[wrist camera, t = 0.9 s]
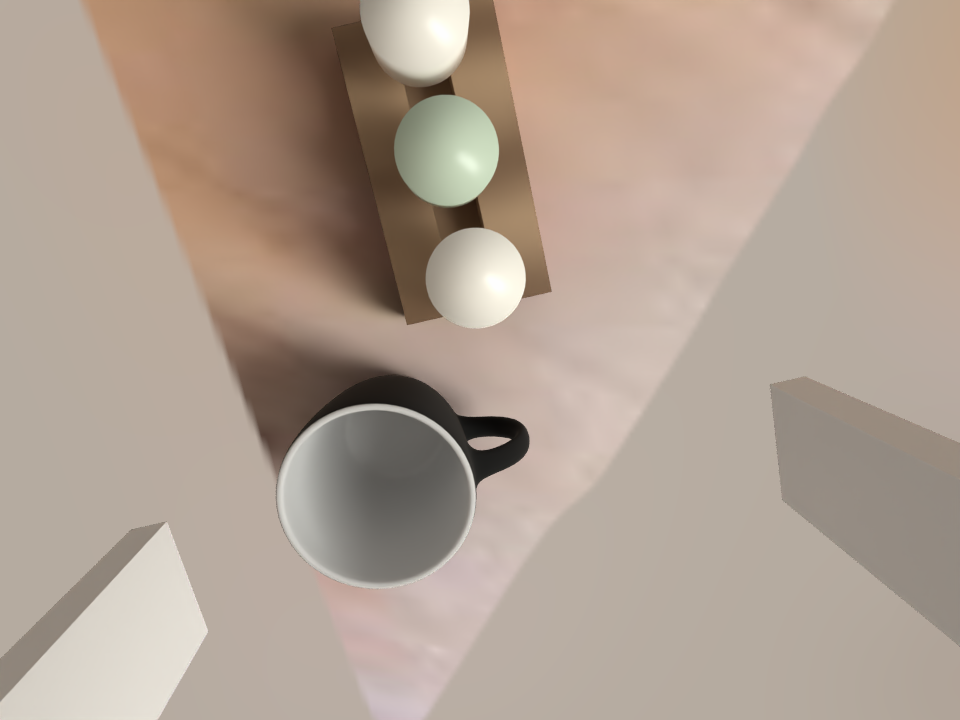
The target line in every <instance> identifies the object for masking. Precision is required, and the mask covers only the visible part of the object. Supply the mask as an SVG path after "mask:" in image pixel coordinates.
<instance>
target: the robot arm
mask: <svg viewBox="0 0 960 720" xmlns="http://www.w3.org/2000/svg"><path fill="white" fill-rule="evenodd" d="M770 389H771V399H772V408H773V418H774V427H775V436H776V446H777V454H778V465H779V474H780V484H781V493H782V500H783V501H784V502H785V503H787V504H788V505H789V506H790V507H791V508H792V509H794V510H795V511H796V512H797V513H798V514H800V515H801V516H802V517H803V518H805V519H806V520H807V521H808V522H809V523H811V524H812V525H813V526H814V527H816V528H817V529H818V530H819V531H820V532H822V533H823V534H824V535H825V536H826V537H828V538H829V539H830V540H831V541H832V542H834V543H835V544H836V545H837V546H839V547H840V548H841V549H842V550H843V551H845V552H846V553H847V554H848V555H849V556H851V557H852V558H853V559H854V560H855V561H857V562H858V563H859V564H860V565H862V566H863V567H864V568H865V569H867V570H868V571H869V572H870V573H871V574H873V575H874V576H875V577H876V578H877V579H879V580H880V581H881V582H882V583H883V584H885V585H886V586H887V587H888V588H889V589H891V590H892V591H893V592H894V593H896V594H897V595H898V596H899V597H901V598H902V599H903V600H904V601H905V602H906V603H908V604H909V605H910V606H911V607H913V608H914V609H915V610H916V611H917V612H919V613H920V614H921V615H922V616H923V617H925V618H926V619H927V620H928V621H930V622H931V623H932V624H933V625H934V626H936V627H937V628H938V629H939V630H941V631H942V632H943V633H944V634H945V635H946V636H948V637H949V638H950V639H951V640H953V641H954V642H955V643H956V644H957V645H959V646H960V443H958V442H956V441H954V440H951V439H949V438H947V437H944V436H942V435H940V434H937V433H935V432H933V431H930V430H928V429H926V428H923V427H921V426H919V425H916V424H914V423H912V422H910V421H907V420H905V419H902V418H900V417H898V416H895V415H893V414H891V413H889V412H886V411H883V410H882V409H879V408H877V407H875V406H872V405H870V404H868V403H865V402H863V401H861V400H858V399H856V398H854V397H851V396H849V395H847V394H844V393H842V392H840V391H837V390H835V389H833V388H830V387H828V386H826V385H823V384H821V383H819V382H816V381H814V380H812V379H809V378H807V377H801V378H796V379H792V380H787V381H783V382H778V383H774V384H770ZM207 633H208V629H207V627H206V624H205V621H204V619H203V616H202V613H201V611H200V608H199V606H198V603H197V600H196V598H195V595H194V592H193V590H192V587H191V585H190V582H189V579H188V576H187V574H186V571H185V568H184V566H183V563H182V560H181V558H180V555H179V553H178V550H177V547H176V545H175V542H174V539H173V537H172V534H171V531H170V529H169V526H168V523H167V522H162V523H158V524H153V525H149V526H145V527H140V528H136V529H132V530H130V531H129V533H127V534H126V535H125V536H124V537H123V538H122V539H121V540H120V541H119V542H118V543H117V544H116V545H115V546H114V547H113V548H112V549H111V550H110V551H109V552H108V553H107V554H106V555H105V556H104V557H103V558H102V559H101V560H100V561H99V562H98V563H97V564H96V565H95V566H94V567H93V568H92V569H91V570H90V571H89V572H88V573H87V574H86V575H85V576H84V577H83V578H82V579H81V580H80V581H79V582H78V583H77V584H76V585H75V586H74V587H72V588H71V589H70V591H68V593H67V594H65V595H64V596H63V597H62V598H61V599H60V600H59V601H58V602H57V603H56V604H55V605H54V606H53V607H52V608H51V609H50V610H49V611H48V612H47V613H46V614H45V615H44V616H43V617H42V618H41V619H40V620H39V621H38V622H37V623H36V624H35V625H34V626H33V627H32V628H31V629H30V630H29V631H28V632H27V633H26V634H25V635H24V636H23V637H22V638H21V639H20V640H19V641H18V642H17V643H16V644H15V645H14V646H13V647H12V648H11V649H10V650H9V651H8V652H7V653H6V654H5V655H4V656H3V657H2V658H1V659H0V720H158V718H159V716H160V715H161V713H162V711H163V709H164V708H165V706H166V704H167V702H168V701H169V699H170V697H171V695H172V694H173V692H174V690H175V689H176V687H177V685H178V683H179V682H180V680H181V678H182V676H183V675H184V673H185V671H186V669H187V668H188V666H189V664H190V662H191V661H192V659H193V657H194V655H195V654H196V652H197V650H198V648H199V647H200V645H201V643H202V641H203V640H204V638H205V636H206V634H207Z"/></svg>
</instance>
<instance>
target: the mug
mask: <svg viewBox="0 0 960 720" xmlns="http://www.w3.org/2000/svg"><path fill="white" fill-rule="evenodd" d="M488 436H495V437H505V438H510V439H512V440H510V441H509V442H507V443H505V444H503V445H501V446H498V447H496V448H493V449H489V450H482V451H481V450H476V449H474V448H472V447H471V446H470V445H469V444H468V442H467V441H468V440H470V439H473V438H477V437H488ZM528 448H529V434H528V431H527V429H526V428H525V426H524V425H523V424H522V423H520V422H519V421H517V420H515V419H511V418H506V417H494V416H487V417H464V416H459V415H457V414H456V413H455V412H454V411H453V410H452V408H451V407H450V405H449V404H448V403H447V402H446V400H445V399H444V398H443V397H442V396H441V395H440V394H439V393H438V392H437V391H435V390H434V389H433V388H431V387H430V386H428V385H427V384H425V383H423V382H421V381H419V380H416V379H413V378H409V377H405V376H396V375H388V376H380V377H375V378H371V379H368V380H365V381H363V382H361V383H358V384H356V385H354V386H353V387H351V388H349V389H347V390H346V391H344V392H343V393H341V394H340V395H338V396H337V397H336V398H334V399H333V400H332V401H331V402H329V403H328V404H327V405H326V406H325V407H324V408H322V409H321V410H320V411H319V412H318V413H317V414H316V415H315V416H314V417H313V418H312V419H311V420H310V421H309V422H308V423H307V425H306V426H305V427H304V428H303V429H302V430H301V432H300V433H299V434H298V436H297V437H296V438H295V440H294V441H293V443H292V444H291V446H290V448H289V449H288V451H287V453H286V455H285V457H284V459H283V461H282V464H281V467H280V470H279V474H278V479H277V486H276V505H277V511H278V516H279V519H280V523H281V526H282V528H283V531H284V533H285V535H286V537H287V538H288V540H289V542H290V544H291V545H292V546H293V548H294V549H295V550H296V552H297V553H298V554H299V555H300V556H301V557H302V558H303V559H304V560H305V561H306V562H307V563H308V564H309V565H310V566H312V567H313V568H314V569H316V570H317V571H319V572H320V573H322V574H323V575H325V576H327V577H329V578H331V579H333V580H335V581H338V582H340V583H344V584H347V585H350V586H355V587H360V588H368V589H386V588H394V587H399V586H404V585H407V584H410V583H413V582H416V581H418V580H421V579H423V578H425V577H427V576H429V575H430V574H432V573H434V572H435V571H437V570H438V569H439V568H441V567H442V566H443V565H444V564H446V563H447V562H448V561H449V560H450V559H451V558H452V557H453V555H454V554H455V553H456V552H457V551H458V549H459V548H460V546H461V545H462V543H463V542H464V540H465V538H466V536H467V534H468V532H469V530H470V527H471V524H472V521H473V518H474V513H475V508H476V488H477V485H478V484H479V482H480V481H481V480H483V479H484V478H486V477H488V476H490V475H492V474H495V473H497V472H499V471H502V470H504V469H506V468H508V467H510V466H512V465H514V464H515V463H517V462H518V461H520V460H521V459H522V458H523V457H524V455H525V454H526V453H527V451H528Z"/></svg>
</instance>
